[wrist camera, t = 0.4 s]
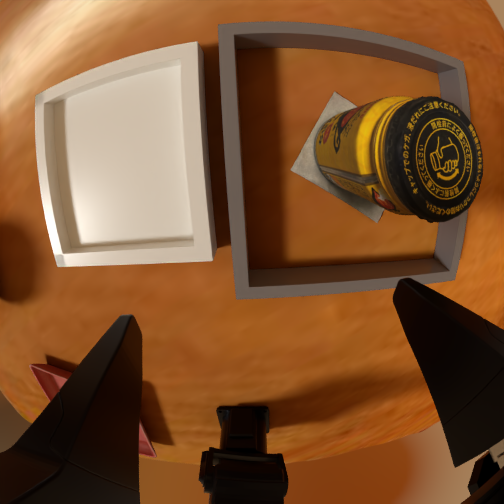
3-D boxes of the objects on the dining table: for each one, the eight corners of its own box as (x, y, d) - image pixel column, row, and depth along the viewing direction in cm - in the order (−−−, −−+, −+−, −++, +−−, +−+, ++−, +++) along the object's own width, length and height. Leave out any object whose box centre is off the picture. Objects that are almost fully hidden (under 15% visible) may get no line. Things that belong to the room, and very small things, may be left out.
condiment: (333, 91, 17) (416, 42, 6) (414, 151, 19) (522, 170, 8) (290, 169, 20) (336, 198, 9) (375, 222, 21) (464, 291, 10)
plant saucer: (37, 351, 29) (26, 364, 26) (136, 379, 29) (128, 398, 26) (76, 418, 35) (70, 431, 32) (161, 443, 36) (157, 458, 32)
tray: (217, 248, 22) (212, 260, 20) (71, 256, 22) (57, 266, 20) (203, 52, 16) (197, 41, 14) (51, 97, 16) (35, 95, 14)
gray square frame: (438, 266, 22) (454, 279, 20) (238, 280, 23) (236, 299, 20) (444, 66, 15) (463, 61, 12) (222, 39, 16) (217, 24, 13)
